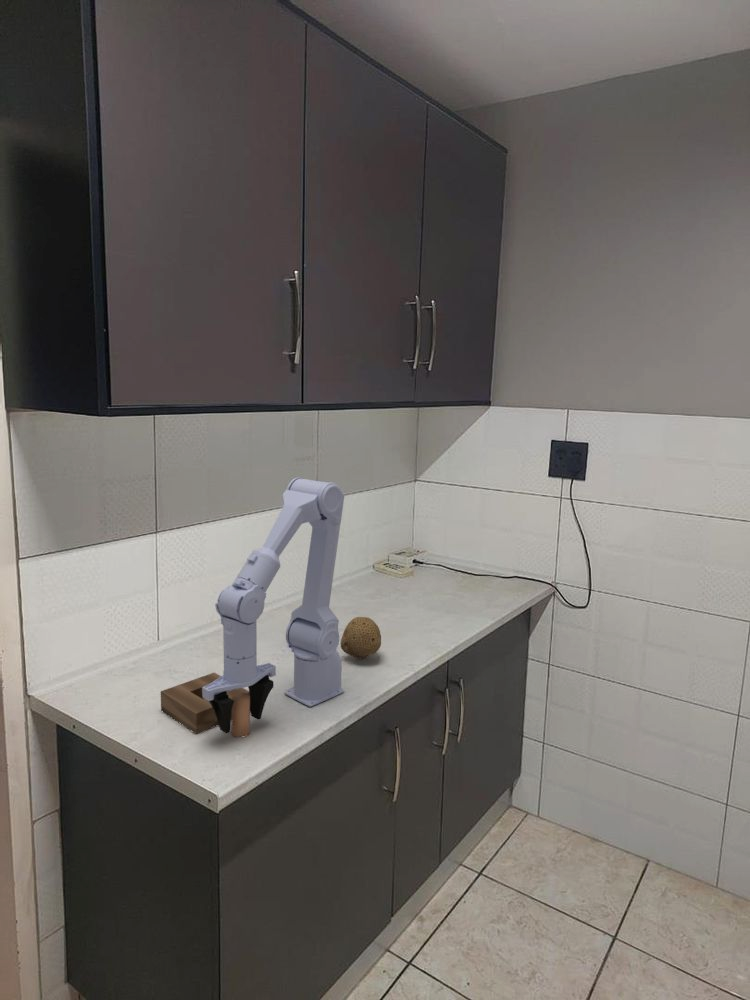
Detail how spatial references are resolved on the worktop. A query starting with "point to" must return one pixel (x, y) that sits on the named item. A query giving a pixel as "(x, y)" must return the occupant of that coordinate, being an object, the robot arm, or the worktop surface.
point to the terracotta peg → (240, 714)
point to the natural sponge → (361, 638)
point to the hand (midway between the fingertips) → (240, 723)
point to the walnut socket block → (193, 703)
